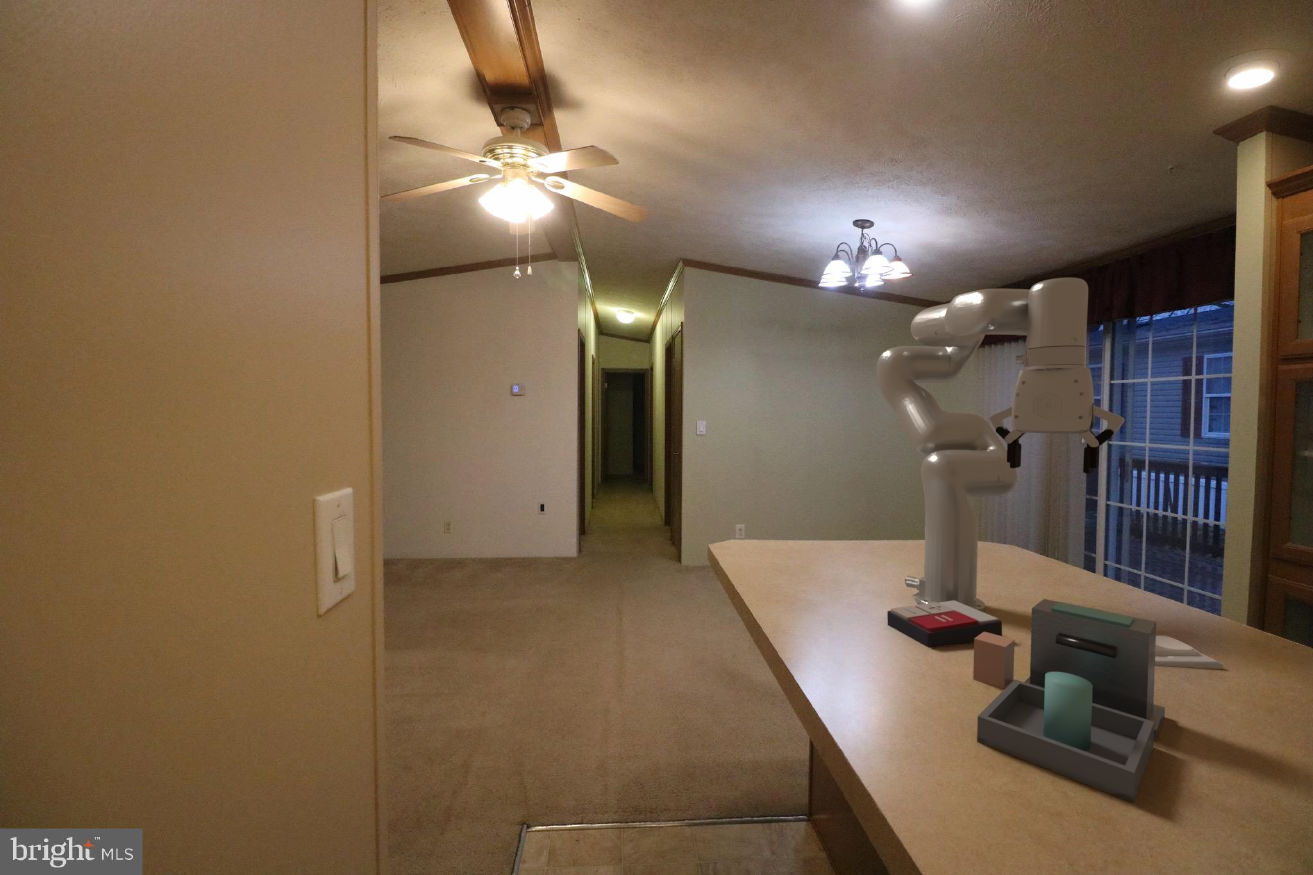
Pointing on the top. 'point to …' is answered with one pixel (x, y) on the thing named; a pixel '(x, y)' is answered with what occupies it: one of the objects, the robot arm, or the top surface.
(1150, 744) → the parts tray
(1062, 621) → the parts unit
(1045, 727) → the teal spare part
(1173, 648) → the light switch
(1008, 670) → the terracotta block
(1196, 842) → the top surface
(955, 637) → the calculator
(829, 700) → the top surface
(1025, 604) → the top surface
